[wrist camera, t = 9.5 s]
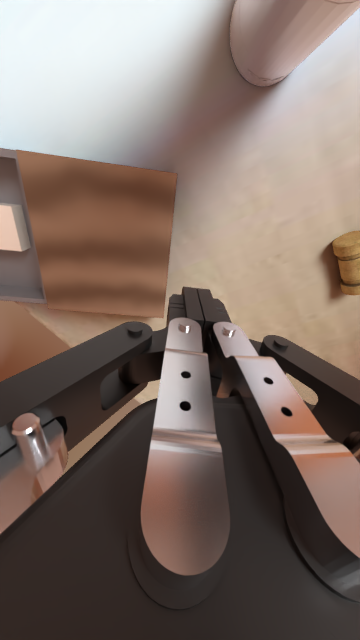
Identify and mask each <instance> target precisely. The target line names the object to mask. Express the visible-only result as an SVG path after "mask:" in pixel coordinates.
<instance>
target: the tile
mask: <svg viewBox="0 0 360 640" xmlns="http://www.w3.org/2000/svg"><path fill="white" fill-rule="evenodd" d="M29 248H31V246H30V242H29V237H28V233H27V228H26V223H25V219H24V214H23V210H22V205H16V204H7V203H0V249H2V250H12V251H24V250H27V249H29Z"/></svg>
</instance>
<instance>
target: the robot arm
mask: <svg viewBox="0 0 360 640" xmlns="http://www.w3.org/2000/svg"><path fill="white" fill-rule="evenodd" d="M358 8H360V0H236V1H235V5H234V8H233V11H232V16H231V23H230V46H231V53H232V56H233V60H234V63H235V65H236V67H237V69H238V71H239V72H240V74H241V75H242V76H243V77H244V79H246V80H247V81H248V82H250V83H251V84H254V85H257V86H269V85H273V84H276V83H277V82H279V81H281V80H283V79H284V78H285V77H286V76H287V75H288V74H289V73H291V72H292V71H293V70H294V69H295V68H296V67H297V66H298V65H299V64H300V63H301V62H302V61H303V60H305V59H306V58H307V57H308V56H309V55H310V54H311V53H312V52H313V51H314V50H315V49H316V48H317V47H318V46H319V45H320V44H321V43H323V42H324V41H325V40H326V39H327V38H328V37H329V36H330V35H331V34H332V33H333V32H334V31H335V30H336V29H337V28H338V27H339V26H341V25H342V24H343V23H344V22H345V21H346V20H347V19H348V18H349V17H350V16H351V15H352V14H353V13H354V12H355V11H356V10H357V9H358ZM166 326H167V327H166V328H164V329H162V330H159V331H152V329H151V327H150V326H148V325H147V324H145V323H141V322H127V323H124V324H122V325H120V326H117V327H115V328H113V329H111V330H109V331H107V332H105V333H103V334H101V335H98V336H96V337H94V338H92V339H90V340H88V341H86V342H84V343H82V344H79V345H77V346H75V347H73V348H71V349H69V350H67V351H65V352H63V353H60V354H58V355H56V356H54V357H52V358H50V359H48V360H46V361H44V362H42V363H39V364H37V365H35V366H33V367H31V368H29V369H27V370H25V371H23V372H21V373H19V374H16V375H14V376H12V377H10V378H8V379H6V380H4V381H2V382H0V640H360V380H358V379H356V378H355V377H353V376H351V375H349V374H348V373H346V372H344V371H342V370H340V369H339V368H337V367H335V366H333V365H332V364H330V363H328V362H326V361H325V360H323V359H321V358H319V357H317V356H316V355H314V354H312V353H310V352H309V351H307V350H305V349H303V348H301V347H300V346H298V345H296V344H294V343H293V342H291V341H289V340H287V339H285V338H283V337H280V336H276V335H268V336H266V337H264V339H263V342H262V343H261V342H257V341H254V340H251V339H248V338H247V336H246V334H245V333H244V331H243V330H242V329H241V328H240V327H239V326H237V325H235V324H233V323H232V322H231V320H230V318H229V315H228V313H227V311H226V309H225V306H224V304H223V303H222V302H221V301H220V300H218V299H214V298H213V297H212V294H211V292H210V290H208V289H200V288H197V289H196V288H191V287H183V289H182V295H177V294H173V295H172V296H171V297H170V298H169V306H168V314H167V325H166ZM286 373H288V374H290V375H291V376H293V377H294V378H296V379H297V380H299V381H300V382H302V383H303V384H305V385H306V386H308V387H309V388H311V389H312V390H313V391H314V392H315V393H316V394H317V396H318V403H317V404H316V405H311V404H309V403H307V402H306V401H304V400H303V399H302V398H301V397H300V395H299V394H298V392H297V391H296V390H295V388H294V387H293V385H292V384H291V382H290V381H289V379H288V378H287V377H286ZM160 379H161V380H160ZM155 380H160V386H159V393H158V398H156V399H153V400H150V401H147V402H145V403H143V404H141V405H140V406H138V407H136V408H135V409H133V410H132V411H131V412H130V413H128V414H127V415H126V416H125V417H124V418H123V419H122V420H121V421H120V422H119V423H118V424H117V425H116V426H114V427H113V428H112V429H111V430H110V431H109V432H108V433H107V434H106V435H105V436H104V437H103V438H102V439H101V440H100V441H99V442H98V443H96V445H94V446H93V447H92V448H91V449H90V450H89V451H88V452H87V453H86V454H85V455H84V456H83V457H82V458H81V459H80V460H78V461H77V462H76V463H75V464H74V465H73V466H72V467H71V468H70V469H69V470H68V471H67V472H66V473H65V474H64V475H63V476H62V477H60V476H61V474H62V473H63V471H64V469H65V468H66V465H67V462H68V451H70V450H71V449H72V448H73V447H74V446H76V445H77V444H78V443H79V442H80V441H82V440H83V439H84V438H85V437H86V436H88V435H89V434H90V433H91V432H92V431H94V430H95V429H96V428H97V427H99V426H100V425H101V424H102V423H103V422H105V421H106V420H107V419H108V418H109V417H111V416H112V415H113V414H114V413H115V412H117V411H118V410H119V409H120V408H122V407H123V406H124V405H125V404H126V403H128V401H130V400H131V399H132V398H134V397H135V396H136V395H137V394H138V393H140V392H141V391H142V390H143V389H144V388H145V387H146V386H147V384H148V382H150V381H155ZM59 477H60V478H59ZM58 478H59V479H58ZM57 479H58V480H57ZM56 480H57V481H56ZM55 481H56V482H55ZM54 482H55V483H54Z"/></svg>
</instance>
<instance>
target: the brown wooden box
mask: <svg viewBox="0 0 360 640" xmlns="http://www.w3.org/2000/svg"><path fill="white" fill-rule="evenodd" d="M16 152H17V157H18V162H19V167H20V172H21V177H22V182H23V187H24V192H25V197H26V201H27V206H28V211H29V216H30V221H31V226H32V231H33V236H34V241H35V246H36V251H37V256H38V261H39V266H40V271H41V275H42V280H43V285H44V290H45V295H46V300H47V305H48V309H57V310H69V311H82V312H94V313H107V314H119V315H132V316H144V317H157V318H163V317H164V307H165V296H166V286H167V275H168V265H169V254H170V244H171V234H172V223H173V213H174V202H175V192H176V182H177V173H170V172H164V171H157V170H150V169H143V168H137V167H130V166H123V165H116V164H110V163H103V162H96V161H89V160H83V159H76V158H69V157H62V156H56V155H49V154H42V153H35V152H29V151H22V150H16Z"/></svg>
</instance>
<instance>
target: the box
mask: <svg viewBox="0 0 360 640" xmlns="http://www.w3.org/2000/svg"><path fill="white" fill-rule="evenodd" d="M0 203H7V204H16V205H22V210H23V214H24V219H25V223H26V228H27V233H28V237H29V242H30V246H31V248H29V249H27V250H24V251H12V250H2V249H0V300H4V301H16V302H28V303H40V304H47V300H46V295H45V290H44V285H43V280H42V275H41V271H40V266H39V261H38V256H37V251H36V246H35V241H34V236H33V231H32V226H31V221H30V216H29V211H28V206H27V201H26V197H25V192H24V187H23V182H22V177H21V172H20V167H19V162H18V157H17V152H16V150H10V149H3V148H0Z"/></svg>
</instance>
